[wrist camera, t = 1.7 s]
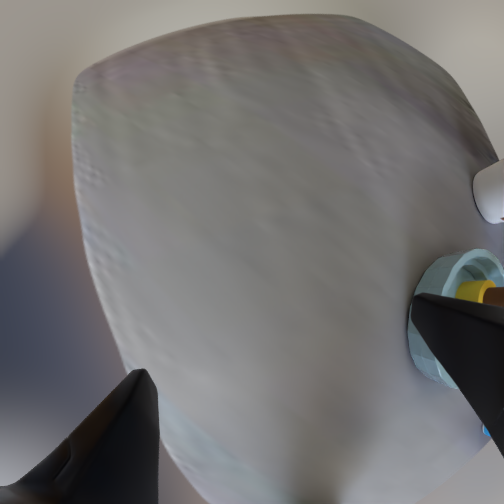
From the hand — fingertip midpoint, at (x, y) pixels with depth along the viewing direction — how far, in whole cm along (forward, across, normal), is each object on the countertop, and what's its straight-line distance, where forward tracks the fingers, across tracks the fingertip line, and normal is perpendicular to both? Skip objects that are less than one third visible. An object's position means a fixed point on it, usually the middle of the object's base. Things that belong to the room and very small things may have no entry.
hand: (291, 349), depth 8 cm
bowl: (+11, -21, +14) cm, 28 cm away
